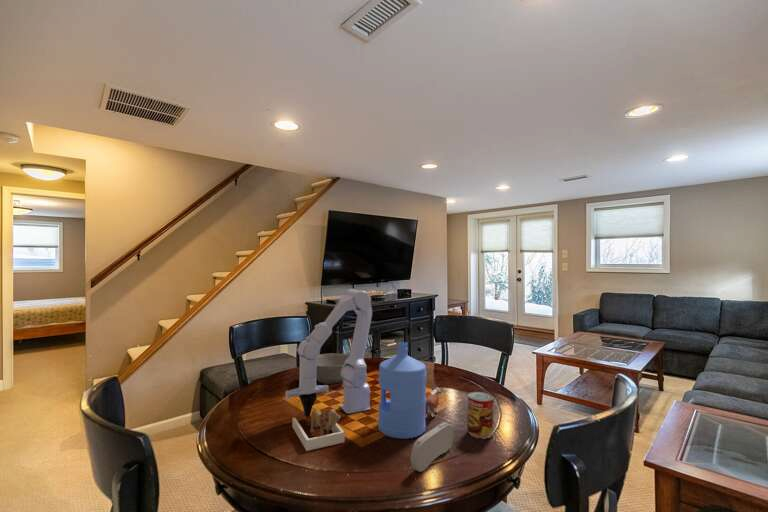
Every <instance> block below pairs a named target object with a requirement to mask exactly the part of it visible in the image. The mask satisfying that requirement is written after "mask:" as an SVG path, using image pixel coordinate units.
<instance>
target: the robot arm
mask: <svg viewBox="0 0 768 512" xmlns="http://www.w3.org/2000/svg"><path fill="white" fill-rule="evenodd" d="M371 301H372V297H371V296H370V295H369V293H368V292H367V291H366V290H360V289H359V290H358V289H353V288H349V289H348V288H347V290H345V292H344V294H342V295H341V296H340V298H339V301H338V303H337V304H336V306H334V308H333V309H332V310H331V312H330V313H329V314H328V316H327V317H326V318H325V320H324V321H323V322H319V323H318V324H315V325H314V329H313V330H312V331H311V332H310V334H309V335H308V336H306V337H305V340H302V341H300V343H299V345H298V347H297V348H296V351H297V353H298V355H299V379H298V380H299V381H298V383H299V384H298V385H299V386H298V387H296V388H294V389H290V390H285V398H286V399H290V398H294V397H299V398H298V399H299V400H300V402H301V405H302V409H303V414H304V417H306V418H309V417H311V414H312V409H313V406H314V404H315V402H316V400H317V398H318V397H317V396H318V395H317V394H320V393H330V391H329V388H330V387H329V385H328V384H323V385H319V384H318V385H317V379H316V370H317V356H318V355H319V354H321V353H320V352H321V348H322V346H323V345H324V344H325V342H326V341H327V340H328V339H329V337H330V336H331V335H332V334H333V327H334V326H335V325H336V324H337V323H338V322H339V320H340V319H341V318H342V317H343V316H344V315H345V314H346V313H347V312H348V311H349V312H351V311H354V312H355V315H356V321H355V326H354V331H353V336H352V340H351V341H352V342H351V347H350V351H349V355H350V356H349V357H348V358H347V359H346V360H345V364H344V366H343V367H342V369H341V377H342V378H343V379H344V380H343V401H342V402H343V404H339V408H341V409H342V410H343V412H345V413H346V414H347V415H348V414H354V413H358V412H363V411H369V410H371V406H370V405H371V397H370V396H371V389H370V385H369V383H367V382H366V381H367V379H368V374H367V367H368V366H367V364H366V362H365V352H366V348H367V344H368V337H369V333H370V328H371V327H370V326H371V324H372V323H371V322H372V317H373V308H372V304H371V303H372V302H371Z"/></svg>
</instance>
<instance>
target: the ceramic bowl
mask: <svg viewBox="0 0 768 512" xmlns="http://www.w3.org/2000/svg"><path fill="white" fill-rule="evenodd" d="M349 356H350V354H345V353H332V352H331V353H322V354H321V353H320V354H319V355H318V356H317V370H316V381H318V382H319V383H320V384H323V385H333V384H338V383H340V382H342V381H343V382H344V379H343V378H342V377H341V369H342V367H343V366H344V364H345V360H346V359H347V358H348V357H349Z"/></svg>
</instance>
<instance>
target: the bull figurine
mask: <svg viewBox="0 0 768 512" xmlns="http://www.w3.org/2000/svg"><path fill="white" fill-rule="evenodd" d="M442 395H443V393H442V391H441V389H440V388H439V387H435V388H434V387H432V388H431V392H430V393H429V394H428V396H426V405H425V418H427V419H428V413H430V415H431V417H432V418H433V417H434V416H435V411H437V412H438V410H437V409H438V405H439V401H440V400H439V399H440V398H439V396H442Z"/></svg>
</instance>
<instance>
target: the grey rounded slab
mask: <svg viewBox="0 0 768 512" xmlns="http://www.w3.org/2000/svg"><path fill="white" fill-rule="evenodd" d="M453 440H454V430H453V427H452V425H451V424H449V423H448V422H444V421H443V422H441V423H439V424H438V425H437V426H435V427H433V428H432V429H430V430H429V431H427V432H426V433H424V434H422V436H421V435H420V436H419V437H418V438H417V439H416V441H415V442H414V444H413V446H412V448H411V453H410V465H411V467H412V469H414V470H415V471H417V472H420V473H423V472H424V471H423V470H425V469H426V468H427V467H428V468H429V466H430V465H431V463H432V462H433V461H434V460H435V459H437V458H438V457H439V456H440V455H444V454H443V453H444V452H445V451H447V450H448V449H449V448H450V449H451V447H452V443H453ZM450 449H449V450H450ZM428 468H427V469H428ZM427 469H426V470H427ZM426 470H425V471H426ZM422 471H423V472H422Z"/></svg>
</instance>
